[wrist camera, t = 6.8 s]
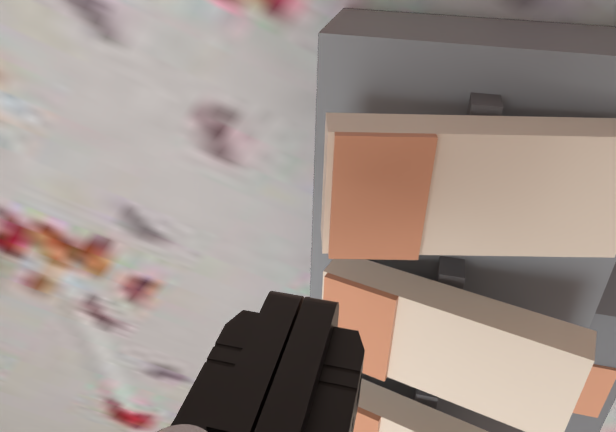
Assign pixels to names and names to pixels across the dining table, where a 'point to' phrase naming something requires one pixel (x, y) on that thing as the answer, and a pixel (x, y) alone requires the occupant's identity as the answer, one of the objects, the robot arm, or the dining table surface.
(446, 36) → the switch unit
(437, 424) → the rocker
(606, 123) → the block
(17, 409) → the dining table surface
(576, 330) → the rocker
